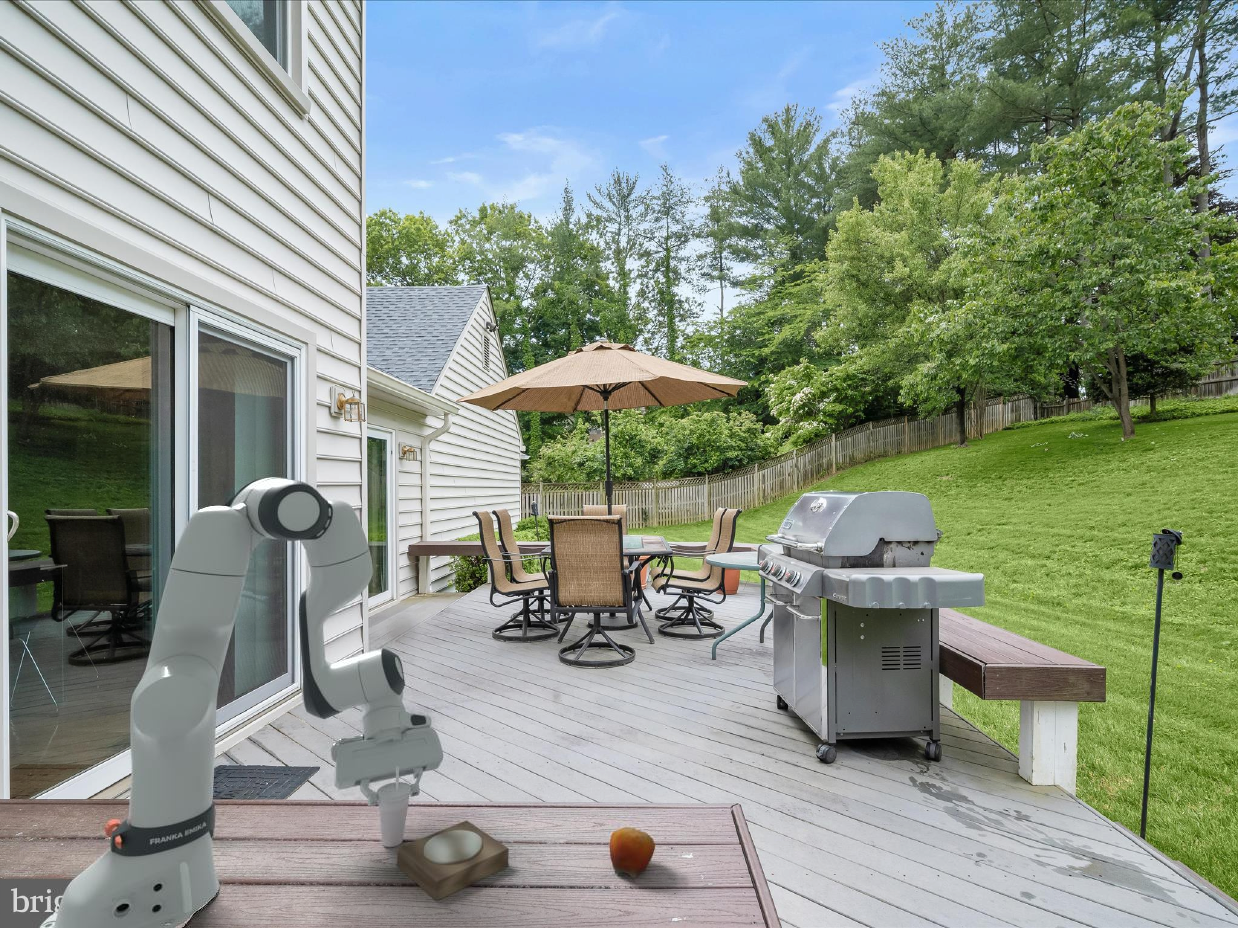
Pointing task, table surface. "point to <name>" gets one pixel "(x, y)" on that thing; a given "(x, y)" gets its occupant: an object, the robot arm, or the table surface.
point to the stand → (452, 859)
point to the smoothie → (393, 810)
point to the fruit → (631, 850)
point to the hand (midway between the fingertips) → (394, 799)
